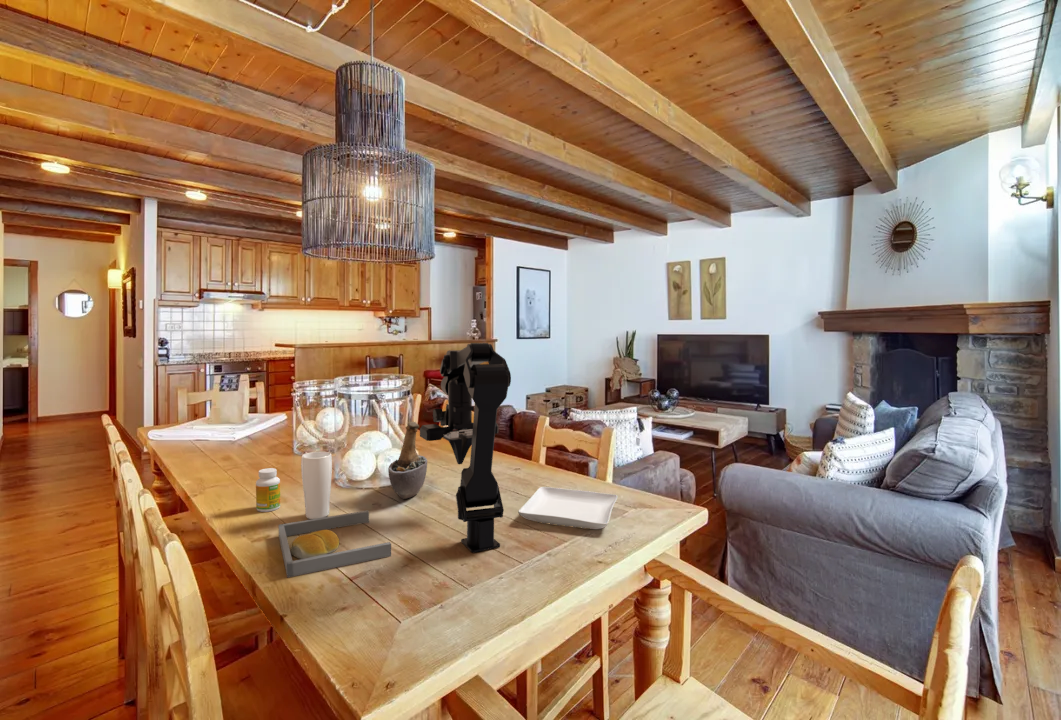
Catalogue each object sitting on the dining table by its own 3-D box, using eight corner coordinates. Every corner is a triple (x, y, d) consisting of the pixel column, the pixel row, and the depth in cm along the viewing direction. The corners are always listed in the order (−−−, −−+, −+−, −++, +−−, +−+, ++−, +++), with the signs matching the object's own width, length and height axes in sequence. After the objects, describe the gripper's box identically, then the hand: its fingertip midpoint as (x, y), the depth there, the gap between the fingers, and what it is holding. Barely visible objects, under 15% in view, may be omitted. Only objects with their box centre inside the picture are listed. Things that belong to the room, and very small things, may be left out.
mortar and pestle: (396, 508, 131) (396, 430, 130) (370, 491, 144) (369, 419, 142) (447, 496, 140) (448, 423, 139) (418, 481, 153) (418, 414, 152)
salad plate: (618, 505, 136) (618, 492, 136) (607, 537, 116) (607, 522, 116) (540, 497, 142) (540, 484, 142) (516, 526, 122) (516, 511, 121)
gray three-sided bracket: (391, 555, 104) (391, 543, 104) (287, 577, 95) (286, 564, 95) (367, 520, 123) (367, 510, 123) (278, 535, 113) (278, 524, 113)
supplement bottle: (270, 513, 127) (269, 474, 126) (251, 511, 128) (250, 472, 127) (285, 505, 132) (284, 468, 131) (266, 503, 133) (265, 466, 132)
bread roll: (346, 548, 108) (346, 529, 108) (307, 564, 101) (306, 544, 101) (323, 538, 113) (323, 520, 113) (283, 553, 106) (283, 534, 105)
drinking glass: (300, 522, 121) (298, 459, 120) (304, 512, 127) (303, 452, 126) (331, 520, 123) (330, 457, 122) (333, 509, 129) (333, 450, 128)
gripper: (480, 394, 139) (480, 452, 140) (412, 399, 129) (412, 460, 130) (499, 400, 129) (499, 462, 131) (427, 405, 120) (427, 472, 121)
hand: (459, 463), depth 128 cm, fingers closed
